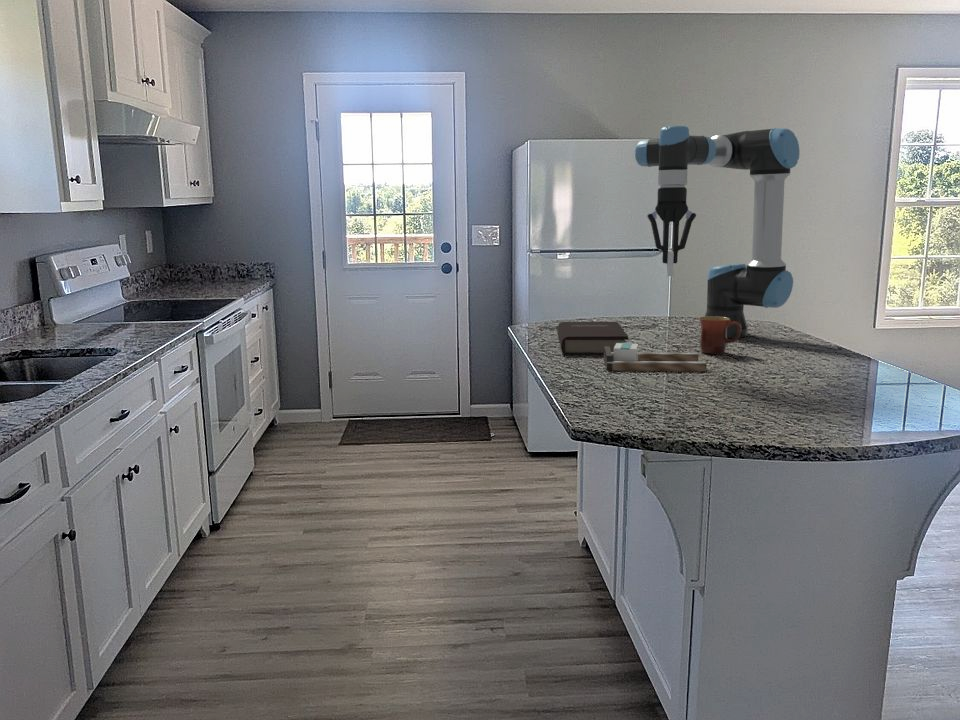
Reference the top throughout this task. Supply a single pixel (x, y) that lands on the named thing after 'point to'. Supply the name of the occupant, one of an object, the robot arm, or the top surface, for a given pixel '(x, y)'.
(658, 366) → the rail board
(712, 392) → the top surface
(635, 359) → the block
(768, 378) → the top surface
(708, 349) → the mug
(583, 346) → the book
